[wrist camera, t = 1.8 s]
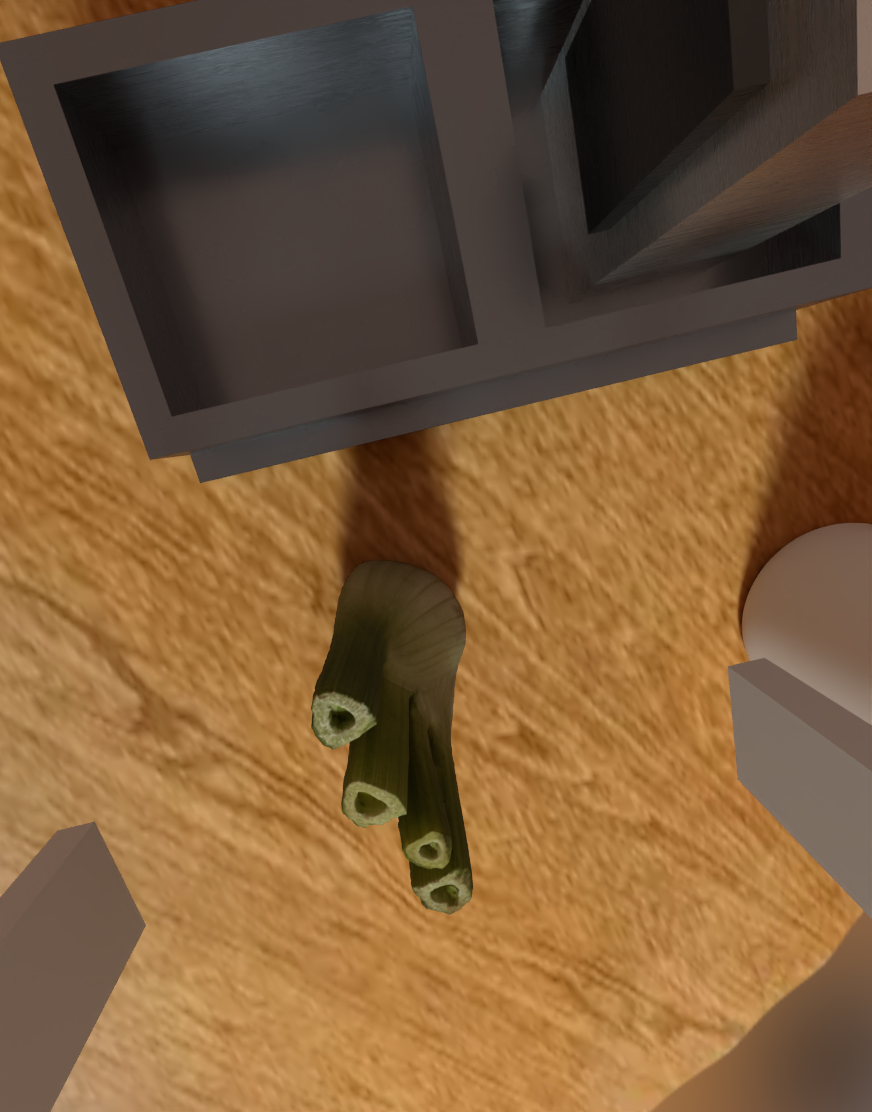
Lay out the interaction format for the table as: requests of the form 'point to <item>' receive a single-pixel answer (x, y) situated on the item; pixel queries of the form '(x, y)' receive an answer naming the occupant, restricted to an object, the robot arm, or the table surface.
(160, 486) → the table surface
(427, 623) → the fennel bulb
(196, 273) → the grey compartment caddy
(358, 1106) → the table surface
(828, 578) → the mug
